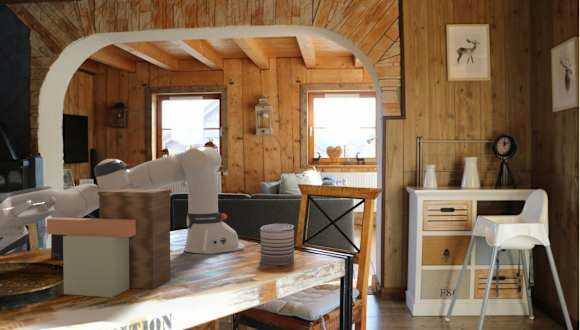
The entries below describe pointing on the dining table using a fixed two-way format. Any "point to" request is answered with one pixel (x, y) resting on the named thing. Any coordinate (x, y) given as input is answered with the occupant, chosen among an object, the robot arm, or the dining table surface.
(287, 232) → the can
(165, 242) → the tall stand
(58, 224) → the rail
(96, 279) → the low block
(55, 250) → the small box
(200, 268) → the dining table surface
